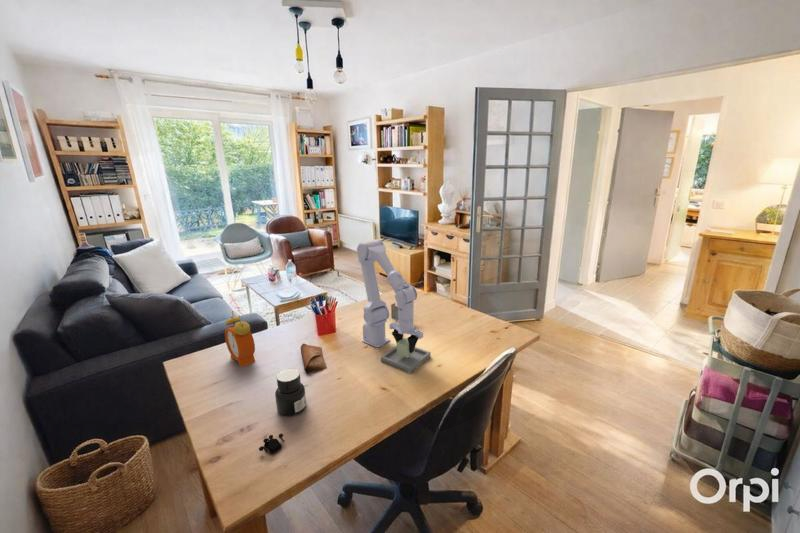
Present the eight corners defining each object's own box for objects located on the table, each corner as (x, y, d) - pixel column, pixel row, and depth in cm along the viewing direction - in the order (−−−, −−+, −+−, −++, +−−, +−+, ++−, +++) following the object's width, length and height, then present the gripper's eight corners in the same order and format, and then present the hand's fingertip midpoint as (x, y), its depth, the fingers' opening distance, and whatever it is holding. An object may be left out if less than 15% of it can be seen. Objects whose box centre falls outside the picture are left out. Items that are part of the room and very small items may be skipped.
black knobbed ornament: (265, 457, 89) (255, 443, 91) (265, 462, 90) (254, 448, 92) (289, 440, 94) (278, 427, 96) (288, 446, 95) (277, 433, 98)
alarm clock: (227, 356, 137) (219, 310, 131) (242, 350, 142) (236, 305, 136) (241, 369, 129) (234, 320, 123) (257, 362, 133) (251, 315, 127)
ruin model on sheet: (411, 323, 166) (412, 305, 163) (407, 325, 164) (407, 307, 161) (395, 316, 173) (395, 298, 170) (391, 318, 171) (391, 300, 168)
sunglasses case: (328, 369, 129) (318, 357, 126) (312, 380, 127) (302, 369, 125) (321, 346, 145) (312, 335, 142) (307, 356, 144) (297, 345, 141)
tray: (380, 361, 134) (380, 356, 133) (401, 346, 144) (401, 342, 144) (410, 373, 126) (410, 368, 125) (430, 356, 136) (430, 352, 136)
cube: (396, 353, 134) (396, 342, 132) (404, 348, 137) (404, 337, 136) (407, 357, 131) (407, 346, 129) (414, 352, 135) (414, 340, 133)
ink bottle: (304, 416, 104) (301, 383, 101) (274, 420, 103) (270, 386, 100) (307, 396, 114) (304, 364, 110) (280, 399, 112) (276, 367, 109)
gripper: (384, 316, 131) (384, 348, 135) (416, 326, 123) (415, 360, 127) (395, 310, 136) (395, 340, 140) (426, 319, 128) (425, 351, 132)
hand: (405, 349), depth 134 cm, fingers closed on cube, 5 cm apart
